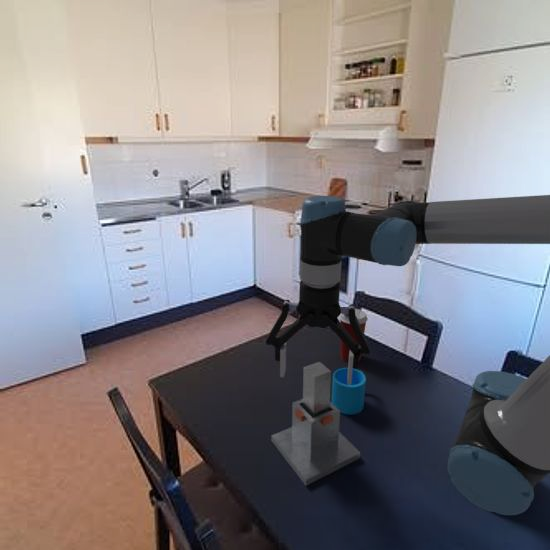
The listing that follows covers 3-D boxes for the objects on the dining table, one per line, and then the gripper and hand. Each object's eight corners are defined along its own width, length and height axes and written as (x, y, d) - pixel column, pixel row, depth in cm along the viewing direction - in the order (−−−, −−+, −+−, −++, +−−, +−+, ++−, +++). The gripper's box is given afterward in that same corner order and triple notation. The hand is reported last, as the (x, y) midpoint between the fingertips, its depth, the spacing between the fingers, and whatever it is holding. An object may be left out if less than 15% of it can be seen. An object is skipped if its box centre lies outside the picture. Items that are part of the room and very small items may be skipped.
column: (328, 445, 87) (332, 371, 80) (312, 453, 85) (314, 377, 78) (317, 433, 91) (319, 361, 84) (301, 440, 89) (302, 367, 82)
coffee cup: (366, 364, 119) (370, 319, 114) (339, 364, 119) (341, 319, 114) (361, 350, 127) (364, 307, 122) (335, 350, 127) (337, 307, 122)
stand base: (360, 458, 86) (363, 414, 82) (305, 485, 80) (306, 439, 75) (321, 419, 97) (323, 378, 93) (271, 440, 91) (270, 398, 87)
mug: (353, 419, 97) (355, 391, 94) (325, 405, 102) (326, 378, 100) (376, 395, 106) (379, 369, 103) (350, 383, 111) (351, 358, 108)
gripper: (387, 278, 76) (377, 372, 83) (258, 269, 80) (260, 360, 87) (390, 293, 69) (379, 395, 76) (249, 283, 73) (252, 381, 81)
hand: (315, 377), depth 82 cm, fingers open, 13 cm apart
